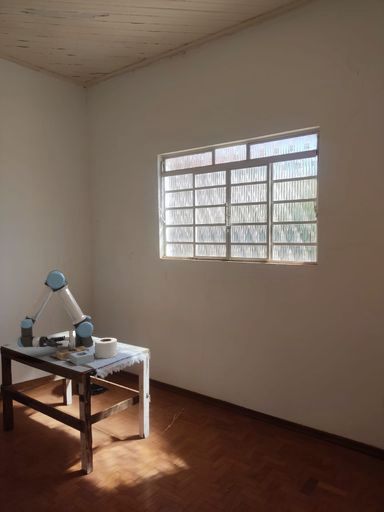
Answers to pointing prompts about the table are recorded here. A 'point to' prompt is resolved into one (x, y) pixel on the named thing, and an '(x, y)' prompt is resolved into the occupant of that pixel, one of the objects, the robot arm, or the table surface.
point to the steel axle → (71, 340)
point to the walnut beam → (66, 354)
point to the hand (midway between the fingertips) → (70, 341)
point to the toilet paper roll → (105, 347)
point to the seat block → (81, 357)
